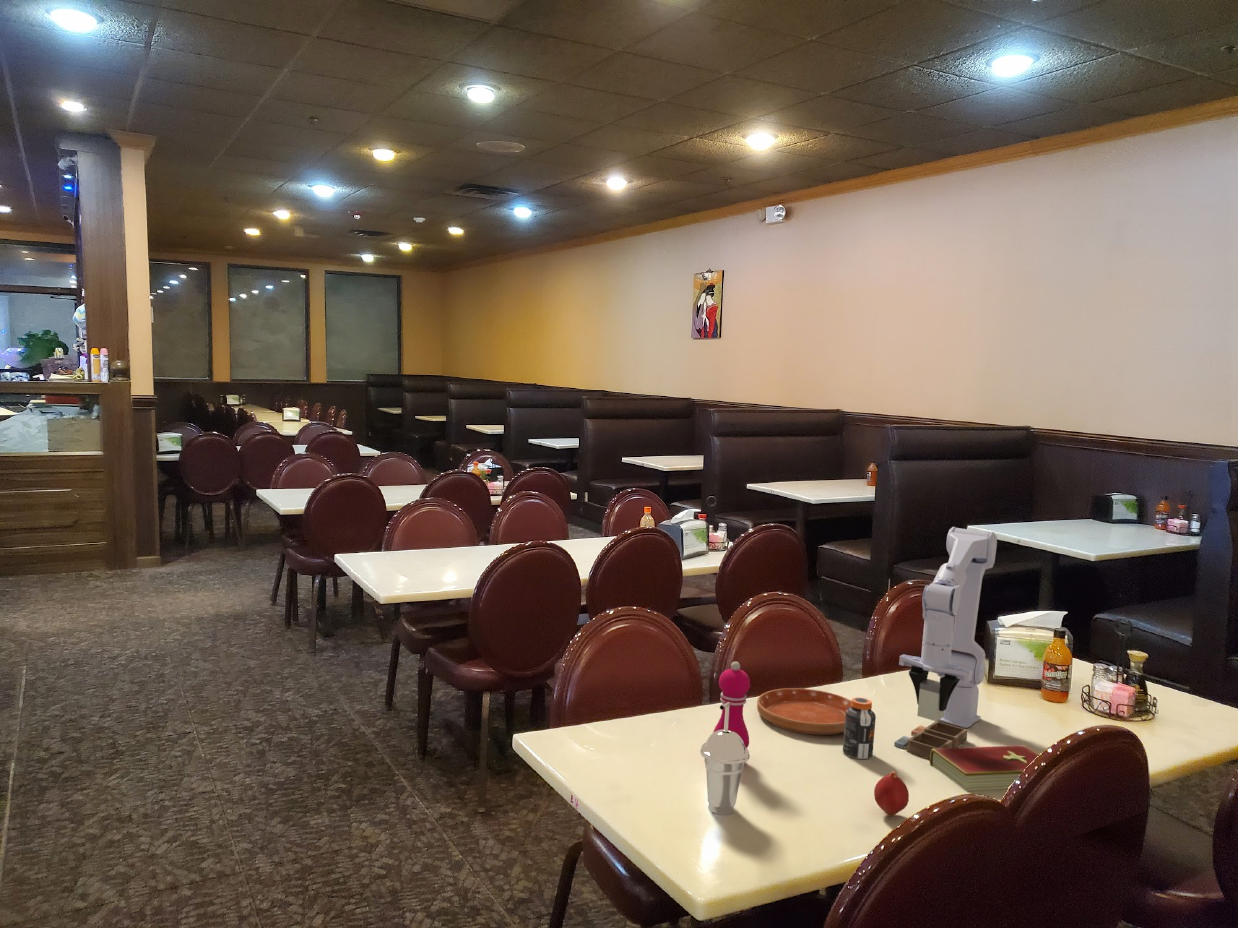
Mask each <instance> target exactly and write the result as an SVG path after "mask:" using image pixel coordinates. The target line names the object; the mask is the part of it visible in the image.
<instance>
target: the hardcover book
mask: <svg viewBox="0 0 1238 928" xmlns="http://www.w3.org/2000/svg"><path fill="white" fill-rule="evenodd" d="M1039 755H1040V753H1037V752H1036V751H1034V750H1033V749H1031V748H1030V747H1028V746H1027V745H1024V744H1022V745H996V746H995V745H994V746H970V747H958V748H940V749H932V750H931V754H930V759H929V766H930V767H933V768H935V769H936V770H937V771H939V772H940V773H942V775H944V776H946V777H947V778H948V779H949V780H951V781H952V782H953V783H954V784H956V785H957V786H958V787H960V788H961V789H962V790H964V791H965V792H967V791H968V792H970V791H986V790H987V791H988V790H1007V789H1008V787H1009V786H1010V785H1011V784H1012V783H1013V782H1014V780H1016V779H1017V778H1018V777H1019V775H1021V773H1022V772H1023V771H1024V769H1026V767H1027V766H1028V765H1029V764H1030V763H1031V762H1032V761H1033V760H1034V759H1035V758H1036V757H1037V756H1039Z"/></svg>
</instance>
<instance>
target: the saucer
mask: <svg viewBox="0 0 1238 928" xmlns="http://www.w3.org/2000/svg"><path fill="white" fill-rule="evenodd" d="M756 701H757V702H756V708H757V709H756V710H757V712H758V713H759V714H760V716H761V717H762V718H764V719H765V720H767V721H768V722H770V723H771V724H772V725H774V726H776V727H778V728H781V729H784V730H786V731H790V732H794V733H798V734H805V735H813V736H815V735H816V736H827V735H828V736H829V735H838V734H841V733H844V727H845V716H846V711H847V709H848V708H850V707H852V706H851V702H852V699H848V698H847V697H845V696H842V695H839V694H836V693H832V692H828V691H823V690H819V689H810V688H796V687H793V688H791V687H789V688H785V687H784V688H778V689H773V690H769V691H765V692H763V693H762V694H760V695H759V696H758V698H757V700H756Z"/></svg>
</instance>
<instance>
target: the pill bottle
mask: <svg viewBox="0 0 1238 928" xmlns="http://www.w3.org/2000/svg"><path fill="white" fill-rule="evenodd" d="M851 701H852V702H851V706H852V707H850V708H848V709H847V711H846V716H845V727H844V732H843V739H842V752H843V753H844V755H845V756H848V757H850V758H853V759H857V760H867V759H870V758H872V757H873V754H874V753H873V752H874V742H875V741H874V739H875V729H876V719H877V717H876V714H875V712H874V711H873V710H872V709H873V701H872V700H871V699H868V698H865V697H859V696H858V697H853V698H852V699H851Z"/></svg>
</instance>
